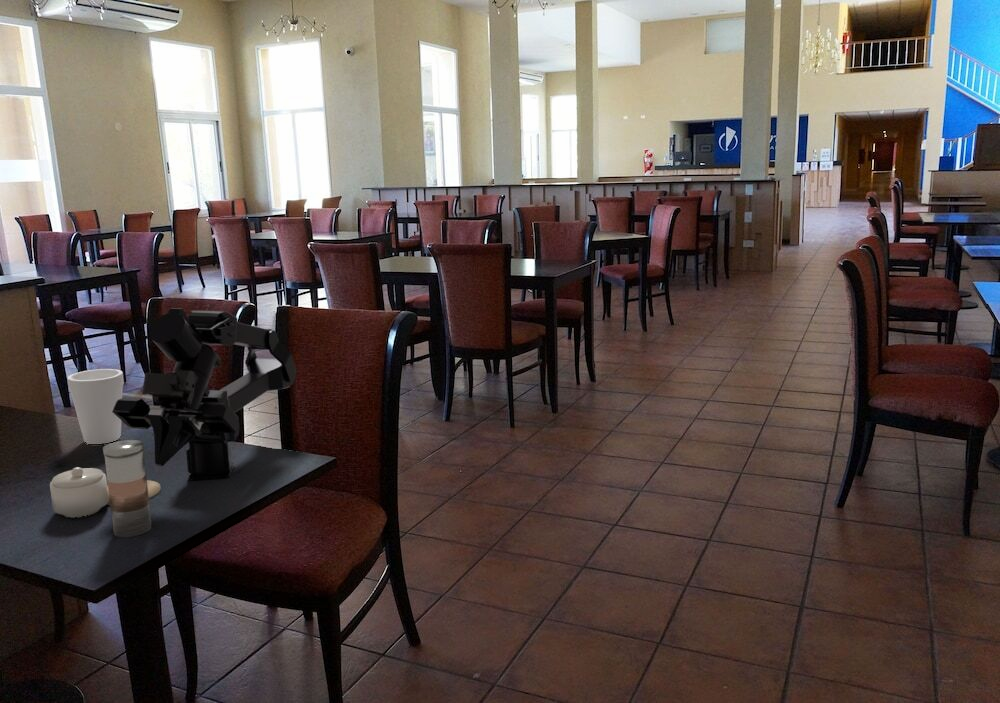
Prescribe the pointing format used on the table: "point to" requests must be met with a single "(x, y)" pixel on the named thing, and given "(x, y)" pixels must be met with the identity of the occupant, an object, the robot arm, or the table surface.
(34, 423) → the table surface
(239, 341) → the robot arm
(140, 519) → the tea canister
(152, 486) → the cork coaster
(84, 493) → the sugar bowl
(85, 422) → the foam cup
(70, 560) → the table surface
